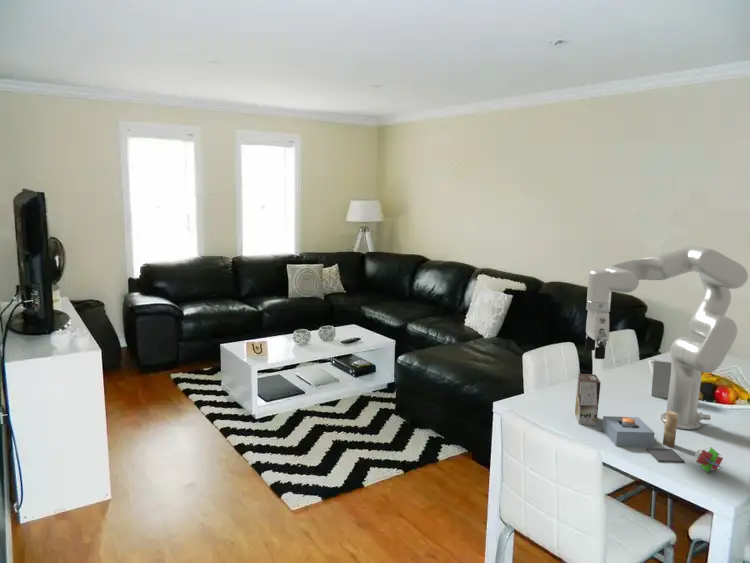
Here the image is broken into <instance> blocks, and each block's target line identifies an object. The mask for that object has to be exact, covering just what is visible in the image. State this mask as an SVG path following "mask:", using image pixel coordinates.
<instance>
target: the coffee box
mask: <svg viewBox="0 0 750 563" xmlns="http://www.w3.org/2000/svg"><path fill="white" fill-rule="evenodd" d="M600 395H601V381H600V379H599V378H598V376H597V374H592V373H591V374H590V373H577V384H576V396H575V408H574V409H575V410H574V416H575V418H576V421H577V423H578V425H588V426H596V427H597V422H598V413H599V412H598V411H599V403H600Z"/></svg>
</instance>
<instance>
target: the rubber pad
mask: <svg viewBox="0 0 750 563" xmlns="http://www.w3.org/2000/svg"><path fill="white" fill-rule="evenodd" d="M645 450H647V452H648V453H649V454H650V455H651V456H652V457H653V458H654V460H656V461H657V462H658V463H684V464H685V461H686V460H684V458H682V457H681V456H680V455H679V453H677V452H676V451H675V450H674V449H672V448H669V447H668V448H664V447H662V448H661V447H646V449H645Z"/></svg>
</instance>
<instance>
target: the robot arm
mask: <svg viewBox="0 0 750 563" xmlns="http://www.w3.org/2000/svg"><path fill="white" fill-rule="evenodd" d="M692 272H696V273H698V276H699V278H700V280H701V282H702V285H703V286H702V287H703V294H702V297H701V300H700V301H699V304H698V305H697V307H696V308H695V311H694V313H693V315H691V318H690V320H689V323H688V329H689V331H690V332H691V333H692V334H693V335H695V336H697V337H700V338H702V339H704V340H703V341H701V340H699V339H697V338H693V337H690V336H680V337H678V338H676V339H674V340H673V342H672V343H671V346H670V351H669V352H670V353H669V354H670V358H671V377H670V385H669V393H668V399H667V404H666V411H665V412H664V413H662V414H661V415H660V420H661V421H662V422H663V423H664V424H665V420H666V412H667V411H672V412H676V413H677V414H678V420H677V428H676V429H682V430H689V431H690V430H692V431H693V430H697V429H699V428H701V425H702V424H701V421H702V420H704V421H710V420H711V418H712V417H711V414H709V413H708V414H706V413H705V414H704V413H703V412H700V411H699V412H698V407H699V399H700V390H701V383H702V373H704V374H705V373H706V374H709V373H713V372H715V371H717V370H718V369H719V368H720V366H721V365H722V364H723V362H724V360H725V358H726V356H727V355H728V353H729V351H730V350H731V348H732V346H733V344H734V343H735V340H736V338H737V335H738V327H737V323H736V322H735V321H734V320H733V319H732V318H730V317H729V316H726V314H727V311H728V310H729V307H730V304H731V300H732V296H731V290H733V289H734V290H737V289H739V288H742V287H743V286H744V285H745V284H746V283H747V281H748V279H749V275H748V274H749V273H748V271H747V269H746V268H745V267H744V266H743V265H742V264H741V263H739V262H737V261H735V260H733V259H732V258H729V257H728V256H727V255H725V254H724V253H723V254H722V253H721V252H720V251H717V250H715V249H712V248H708V247H703V246H696V245H689V246H684V247H681V248H678V249H674V250H671V251H668V252H665V253H662V254H659V255H655V256H650V257H649V256H648V257H643V258H637V259H631V260H627V261H626V260H624V261H623V262H618V263H615V264H612V265H610V266H608V267H606V268H604V269H599V268H598V269H591V270H590V271H589V272H588V281H587V293H586V295H587V296H586V306H585V310H587V315H586V325H585V333H586V335H585V346H584V350H585V351H594V359H595V360H604V359H605V358H606V347H607V342H608V341H609V338H610V314H609V313H610V312H611V304H612V303H611V302H612V292H617V293H624V294H625V293H627V294H628V293H632V292H634V291H635V290H636V289H637V288H638V287H639V285H640V284H639V283H640V280H641V281H643V280H645V281H664V280H668V279H671V278H675V277H677V276H680V275H683V274H688V273H692Z"/></svg>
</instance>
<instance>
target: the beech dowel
mask: <svg viewBox="0 0 750 563" xmlns="http://www.w3.org/2000/svg"><path fill="white" fill-rule="evenodd" d="M666 411H667V410H666ZM666 411H665V413H666V420H665V423H664V429H663V440H662V445H664V446H666V447H668V448H674V447H675V444H676V436H677V429H678V428H677V420H678V414H677V413H676V412H672V411H667V412H666Z"/></svg>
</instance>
